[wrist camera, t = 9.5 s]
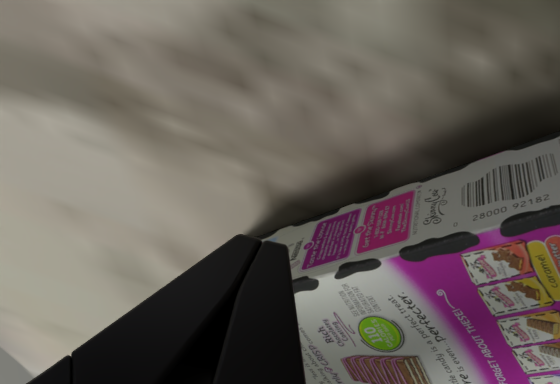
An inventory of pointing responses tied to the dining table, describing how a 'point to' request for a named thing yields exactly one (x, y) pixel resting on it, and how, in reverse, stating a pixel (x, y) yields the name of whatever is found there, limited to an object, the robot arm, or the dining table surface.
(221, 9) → the dining table surface
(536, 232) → the candy bar box
